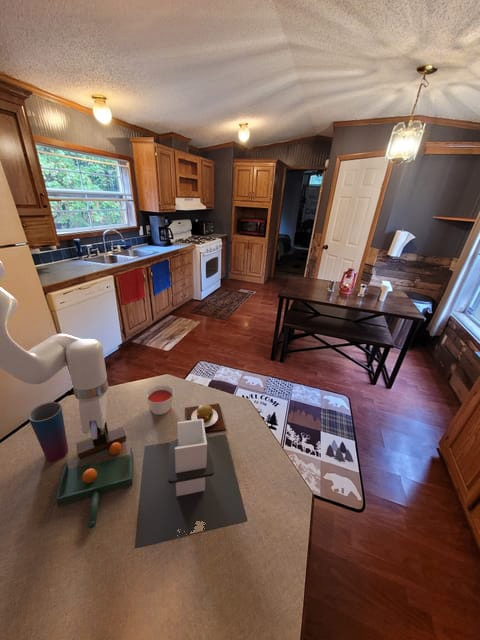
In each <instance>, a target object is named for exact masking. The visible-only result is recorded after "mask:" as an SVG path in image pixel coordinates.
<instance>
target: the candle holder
mask: <svg viewBox="0 0 480 640" xmlns="http://www.w3.org/2000/svg"><path fill="white" fill-rule="evenodd" d="M143 451H144V452H143V460H142V468H141V469H142V470H141V480H140V488H139V489H140V490H139V500H138V509H137V518H136V519H137V520H136V527H135V528H136V529H135V538H134V549H138V548H141V547H146V546H150V545H154V544H159V543H162V542H166V541H170V540H174V539H178V538H182V537H187V536H191V535H192V534H190V532H191V531H192V532H193V530H195V529H194V527H195V526H197V525H196V524H195V523H196V521H200V522H201V521H203V522H205V523H206V524H205V523H204V524H205V525H203V526H204V528H205V529H204V528H203V530H204V531H203V532H207V531H211V530H215V529H220V528H225V527H228V526H232V525H235V524H239V523H244V522H247V521H248V517H247V514H246V513H247V512H246V510H245V505H244V501H243V498H242V494H241V490H240V487H239V486H240V485H239V481H238V478H237V473H236V469H235V465H234V461H233V457H232V453H231V449H230V445H229V441H228V437H227V434H226V433H224V434H218V435H210V436H208V435H207V433H205V428H204V422H203V419H197V420H190V421H186V420H182V421H177V438H176V439H174V440H171V441H170V442H163V443H156V444H150V445H144V449H143ZM178 529H179V531H180V533H179V532H178V531H177V530H178ZM180 529H181V530H180ZM184 531H185V532H184ZM186 534H187V535H186ZM177 535H178V536H179V537H178V536H177ZM177 537H178V538H177Z"/></svg>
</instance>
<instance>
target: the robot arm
mask: <svg viewBox="0 0 480 640" xmlns="http://www.w3.org/2000/svg"><path fill="white" fill-rule="evenodd" d="M5 275H6V269H5V266H4V264H3V262H2V261H1V260H0V281H1V280H3V279H4V278H5ZM18 306H19V301H18V300H17V298H15V297H14V296H13V295H11V294H10V293H9V292H8V291H6V290H5V289H4V288H2V287H1V286H0V369H2V370H3V371H5V372H6V373H7V374H9V375H11V376H12V377H13V378H15V379H17V380H18V381H21V382H23V383H25V384H29V385H40V384H43V383H46V382H48V381H49V380H50V379H52V378H53V377H54V376H55V375H57V374H58V373H59V372H60V371H61V370H63V368H65V367H68V371H69V374H70V379H71V384H72V389H73V394H74V397H75V398H76V400H78V409H79V417H80V424H81V430H82V433H83V434H84V435H86V434H89V432H90V433H91V435H90V436H91V438H92V440H93V445H94V446H98V445H102V444H106V443H107V439H106V434H108V431H109V429H108V423H107V422H106V421H107V420H106V419H107V411H108V403H107V402H108V400H107V393H108V391H109V381H108V374H107V367H106V362H105V355H104V348H103V345H102V343H101V342H100V341H99V340H97V339H94V338H93V339H92V338H80V337H75V336H72V335H69V334H65V333H57V334H53V335H52V336H49V337H47V338H46V339H45V340H44V341H42V342H40V343H38V344H36V345H35V346H33V347H32V348H31V349H29V350H26V349H24V348H23V347H22V346H21V345H19V344H18V343H17V342H16V341H14V339H13V338H12V337H11V335H10V333H9V331H8V321H9V319H10V318H11V317H12V316H13V315H14V313H16V311H17V309H18ZM104 426H105V430H106V433H105V432H104ZM97 429H100V431H97Z"/></svg>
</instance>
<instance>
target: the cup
mask: <svg viewBox="0 0 480 640" xmlns="http://www.w3.org/2000/svg"><path fill="white" fill-rule="evenodd" d="M63 413H64V412H63V407H62V405H61V403H60V402H56V401H49V402H44V403H41V404H40V405H37V406H36V407H34V408H33V409H32V410H30V411H29V413H28V414H27V415H28V416H27V418H28V421H29V423H30V425H31V428H32V430H33V432H34V434H35V437H36V438H37V441H38V443H39V445H40V448H41V450H42V452H43V454H44V457H45V459H46V460H47V461H49V462H56V461H59V460H61V459H62V458H64V457H65V456H66V455H67V453H68V451H69V446H68V439H67V433H66V432H67V431H66V426H65V420H64V415H63Z"/></svg>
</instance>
